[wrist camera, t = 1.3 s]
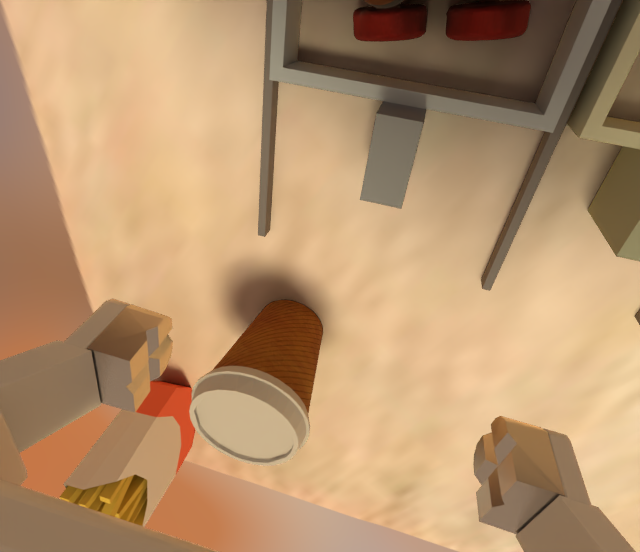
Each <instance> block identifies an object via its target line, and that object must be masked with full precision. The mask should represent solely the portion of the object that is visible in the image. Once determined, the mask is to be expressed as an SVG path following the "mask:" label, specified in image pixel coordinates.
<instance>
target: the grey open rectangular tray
mask: <svg viewBox="0 0 640 552" xmlns="http://www.w3.org/2000/svg"><path fill="white" fill-rule="evenodd" d="M610 3H611V0H576V3H575V5H574V8H573V10H572V13H571V15H570V18H569V20H568V23H567V25H566V28H565V30H564V33H563V35H562V38H561V40H560V43H559V45H558V48H557V50H556V53H555V55H554V58H553V60H552V63H551V65H550V68H549V70H548V73H547V75H546V78H545V80H544V83H543V85H542V87H541V90H540V92H539V95H538V97H537V100H536V102H535V103H530V102H525V101H519V100H513V99H508V98H502V97H497V96H491V95H486V94H480V93H475V92H469V91H463V90H458V89H452V88H447V87H441V86H436V85H430V84H424V83H419V82H413V81H408V80H402V79H397V78H391V77H386V76H380V75H374V74H369V73H363V72H358V71H352V70H347V69H341V68H335V67H330V66H324V65H319V64H313V63H308V62H302V61H297V59H298V47H299V34H300V22H301V9H302V0H273V11H272V33H271V55H270V77H269V80H273V81H279V82H284V83H289V84H295V85H300V86H305V87H311V88H316V89H321V90H327V91H332V92H337V93H342V94H348V95H353V96H358V97H364V98H369V99H374V100H380V101H383V103H382V105H381V107H380V108H379V110H378V112H377V114H376V119H375V124H374V129H373V135H372V140H371V145H370V150H369V155H368V161H367V166H366V171H365V176H364V181H363V187H362V192H361V197H360V200H364V201H368V202H373V203H377V204H382V205H387V206H391V207H396V208H400V209H401V208H402V204H403V201H404V197H405V193H406V189H407V185H408V181H409V177H410V174H411V170H412V166H413V162H414V158H415V154H416V151H417V147H418V143H419V139H420V135H421V131H422V127H423V124H424V119H425V113H426V109H428V110H433V111H438V112H444V113H449V114H454V115H460V116H465V117H470V118H476V119H481V120H486V121H492V122H497V123H502V124H508V125H513V126H518V127H524V128H529V129H534V130H540V131H545V132H550V133H553V131H554V129H555V127H556V125H557V122H558V120H559V118H560V116H561V113H562V111H563V109H564V107H565V104H566V102H567V100H568V98H569V95H570V93H571V91H572V89H573V86H574V84H575V82H576V80H577V77H578V75H579V73H580V70H581V68H582V66H583V64H584V61H585V59H586V57H587V55H588V52H589V50H590V48H591V46H592V43H593V41H594V39H595V37H596V34H597V32H598V30H599V28H600V25H601V23H602V21H603V19H604V16H605V14H606V12H607V10H608V7H609V5H610Z"/></svg>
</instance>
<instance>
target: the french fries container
mask: <svg viewBox="0 0 640 552" xmlns="http://www.w3.org/2000/svg"><path fill="white" fill-rule="evenodd" d="M191 402H192V390H191V388H190V387H185V386H181V385H176V384H172V383H167V382H163V381H150V392H149V394H148V395H147V397H146V398H145V399H144V401H143V402H142V404H141V405H140V407H139V408H138V409H137V411H136V412H135V413H134V412H131V411H127V410H124V409H122V410H121V411H120V412H119V414H118V415H117V416H116V417H115V419H114V420H113V421H112V422H111V424H110V425H109V426H108V428H107V429H106V430H105V431H104V433H103V434H102V435H101V437H100V438H99V440H97V442H96V443H95V444H94V446H93V447H92V448H91V449H90V451H89V452H88V453H87V455H86V456H85V457H84V459H83V460H82V461H81V462H80V464H79V465H78V466H77V468H76V469H75V470H74V472H73V473H72V474H71V475H70V477H69V478H68V479H67V481H66V482H65V483H64V486H65V487H66V490H65V491H64V492H63V493H62V495H61V496H60V499H62V500H65V501H68V502H71V503H74V504H77V505H80V506H83V507H86V508H89V509H92V510H95V511H98V512H101V513H104V514H107V515H110V516H113V517H116V518H119V519H122V520H125V521H128V522H131V523H134V524H137V525H140V526H143V527H145V525H146V523H147V521H148V520H149V518H150V517H151V515H152V513H153V512H154V510H155V508H156V507H157V505H158V503H159V502H160V500H161V498H162V497H163V495H164V494H165V491H166V490H167V489H168V487H169V485H170V483H171V482H172V480H173V479H174V477H175V475H176V474H177V472H178V470H179V468H180V466H181V465H182V463H183V461H184V459H185V458H186V456H187V454H188V452H189V450H190V449H191V447H192V443H193V438H194V433H195V428H194V426H193V424H192V421H191V419H190V413H189V410H190V405H191Z"/></svg>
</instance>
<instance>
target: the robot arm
mask: <svg viewBox="0 0 640 552" xmlns="http://www.w3.org/2000/svg"><path fill="white" fill-rule="evenodd" d="M171 329H172V318H170V317H168V316H165V315H162V314H159V313H156V312H153V311H150V310H147V309H144V308H141V307H138V306H135V305H132V304H128V303H125V302H122V301H119V300H116V299H110V300H108V301H106V302H105V303H104V304H102V305H101V306H100V307H99V308H98V309H97V310H96V311H95V312H94V313H93V314H92V315H91V316H90V317H89V318H88V319H87V320H86V321H85V322H84V323H83V324H82V325H81V326H80V327H79V328H77V329H76V330H75V331H74V332H73V333H72V334H71V335H70V336H69V337H68V338H67V339H66V340H65V341H64V342H62V341H54V342H51V343H49V344H46V345H43V346H40V347H37V348H35V349H32V350H29V351H26V352H23V353H20V354H17V355H15V356H12V357H9V358H6V359H3V360H0V552H219V551H215V550H213V549H210V548H207V547H204V546H201V545H198V544H195V543H191V542H189V541H186V540H183V539H180V538H177V537H173V536H170V535H167V534H164V533H161V532H158V531H155V530H152V529H149V528H146V527H143V526H140V525H137V524H134V523H131V522H128V521H125V520H122V519H119V518H116V517H113V516H110V515H107V514H104V513H101V512H98V511H95V510H92V509H89V508H86V507H83V506H80V505H77V504H74V503H71V502H68V501H65V500H62V499H59V498H56V497H53V496H50V495H46V494H44V493H41V492H38V491H35V490H32V489H28V488H26V487H22V486H21V484H22V483H23V481H25V479H26V478H27V470H26V467H25V465H24V463H23V460H22V458H21V455H20V452H22V451H24V450H25V449H27V448H29V447H30V446H32V445H34V444H35V443H37V442H39V441H41V440H42V439H44V438H46V437H47V436H49V435H51V434H53V433H54V432H56V431H58V430H59V429H61V428H63V427H65V426H66V425H68V424H70V423H71V422H73V421H75V420H76V419H78V418H80V417H82V416H83V415H85V414H87V413H88V412H90V411H92V410H93V409H95V408H97V407H98V406H100V405H101V403H103V404H106V405H110V406H113V407H117V408H121V409H124V410H127V411H131V412H134V413H135V412H136V411H137V409H138V408H139V407H140V405H141V404H142V402H143V401H144V399H145V398H146V397H147V395H148V394H149V392H150V381H152V380H155V379H157V378H159V377H160V376H161V375H162V373H163V372H164V370H165V369H166V367H167V365H168V362H169V360H170V358H171V354H172V349H173V341H172V340H171V338H170V337H169V335H168V334H169V332H170V331H171ZM491 429H492V432H491V433H489V434H486V435H483V436H482V437H481V439H480V440H479V442H478V443H477V446H476V450H475V453H474V474H475V476H476V477H477V479H478V480H479V482H480V483H481V485H482V486H481V487H480V488H479V490H478V491H477V492H476V496H477V505H478V515H479V521H480V522H483V523H485V524H488V525H491V526H494V527H497V528H500V529H503V530H506V531H509V532H512V533H514V534H517V535H516V538H517V540H518V541H519V543H520V545H521V547H522V549H523V550H524V552H636V551H635V550H634V549H633V548H632V547H631V545H630V544H629V543H628V542H627V541H626V540H625V538H624V537H623V536H622V535H621V534H620V532H619V531H618V530H617V529H616V528H615V527H614V525H613V524H612V523H611V522H610V521H609V519H608V518H607V517H606V516H605V515H604V514H603V512H602V511H601V510H600V509H599V508H598V507H596V506H593V505H591V502H590V499H589V496H588V493H587V490H586V487H585V484H584V481H583V478H582V475H581V472H580V469H579V466H578V463H577V460H576V456H575V453H574V450H573V447H572V444H571V441H570V439H569V438H568V437H567V436H566V435H564V434H561V433H557V432H554V431H551V430H547V429H542V428H541V427H537V426H534V425H531V424H527V423H524V422H520V421H517V420H513V419H510V418H506V417H503V416H499V417H497V418H496V419H495V420H494V421H493V422H492V424H491Z"/></svg>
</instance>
